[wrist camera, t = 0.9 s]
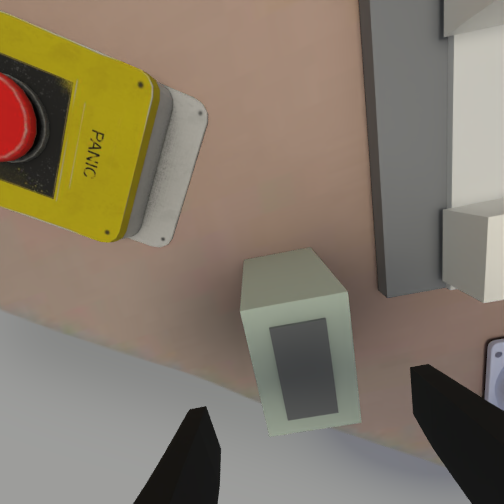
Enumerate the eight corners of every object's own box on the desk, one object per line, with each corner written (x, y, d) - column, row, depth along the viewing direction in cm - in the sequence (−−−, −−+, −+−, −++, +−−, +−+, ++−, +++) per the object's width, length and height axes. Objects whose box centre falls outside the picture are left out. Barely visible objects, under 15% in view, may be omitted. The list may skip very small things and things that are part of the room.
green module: (322, 336, 19) (362, 425, 12) (262, 347, 20) (269, 439, 13) (310, 247, 17) (349, 293, 10) (243, 259, 18) (239, 312, 11)
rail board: (542, 260, 18) (639, 289, 13) (378, 290, 18) (419, 326, 14) (585, -111, 12) (770, -270, 8) (355, -55, 13) (409, -174, 9)
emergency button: (-186, -84, 10) (201, 82, 11) (-54, -5, 14) (214, 108, 15) (-172, 163, 12) (146, 271, 14) (-62, 167, 16) (170, 249, 18)
